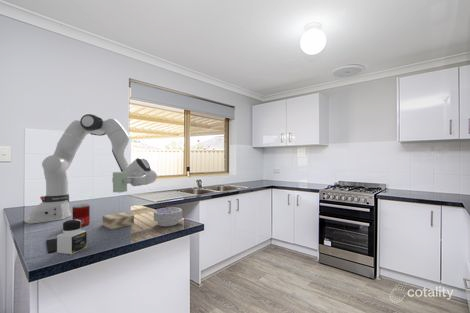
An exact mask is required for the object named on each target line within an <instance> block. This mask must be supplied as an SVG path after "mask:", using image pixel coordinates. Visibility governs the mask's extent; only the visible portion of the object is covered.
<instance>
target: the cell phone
mask: <svg viewBox="0 0 470 313" xmlns="http://www.w3.org/2000/svg"><path fill="white" fill-rule="evenodd" d="M46 247H47V253H48V254H53V253H57V237H55V238H51V239H47V240H46Z"/></svg>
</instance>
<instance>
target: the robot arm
mask: <svg viewBox="0 0 470 313" xmlns="http://www.w3.org/2000/svg"><path fill="white" fill-rule="evenodd" d="M89 134H90V135H93V136H99V137H101V136H105V135H106V136H107V138H108V139H109V141H110V143H111V152H112V155H113V157H114V159H115V161H116V163H117V165H118V167H119V170H120V172H127V179H124V180H122V183H127V184H129V185H131V186H132V187H139V186H145V185H146V186H147V185H149V184H153V183H155V182H156V180H157V178H158V175H157V173H156V172H155V171H154V170H153V169H152V168H151V166H150V163H149V162H148V160H147V159H145V158H142V157H137V158H136V159H134V160H133V161H132V162H131V163H130V164H129V163H128V162H127V159H126V157H125V150H126V148H127V146H128V144H129V141H130V137H129V134H128V132H127V131H126V130H125V128H124V127H123V125H122V124H121V123H120V122H119V121H118V120H117V119H115V118H108V119H105V120H104V119H102V118H101V117H99V116H97V115H94V114H91V113H88V114H84V115H83V116H81V117H80V120H73V121H71V123H70V124H69V125H68V126H67V128H66V129H65V130H64V132H63V134H62V135H61V136H60V139H59V140H58V142H57V143H56V148H55V150H54V152H53V155H51V154H50V155H48V156H46V157H45V158H44V159H43V160H42V162H41V165H42V166H41V167H42V169H43V175H44V180H45V191H46V192H45V195H44V196H43V195H42V196H40V197H39V199H40V200H41V203H39V204H37V205H36V206H35V207H33V208H32V209H31V211H30V213H29V217H27V218H25V219H24V223H25V224H30V225H31V224H37V223H47V222H53V221H62V220H64V219H66V218H67V219H68V218H70V217H71V216H72V213H71V210H70V204H69V203H70V194H69V181H68V177H67V171H68V169H69V168H70V166H71V164H72V162H73V160H74V158H75V156H76V153H77V151H78V149H79V148H80V146H81V145H82V143H83V141H84V139H85V138H86V137H87V135H89ZM111 182H112V183H113V177H112V180H111Z"/></svg>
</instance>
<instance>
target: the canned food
mask: <svg viewBox="0 0 470 313" xmlns="http://www.w3.org/2000/svg"><path fill="white" fill-rule="evenodd" d="M90 207H91V206H90V204H89V203H80V204H79V203H78V204H75V205H72V213H71V216H72V220H75V219H77V220H80V221H81V228H83V227H86V226H88V225H90V223H91V221H90V214H91V212H90Z"/></svg>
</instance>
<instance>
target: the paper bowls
mask: <svg viewBox="0 0 470 313" xmlns="http://www.w3.org/2000/svg"><path fill="white" fill-rule="evenodd" d="M182 219H183V209H182V208H180V207H173V206H171V207H170V206H169V207H162V208H157V209H155V210H154V211H153V221H154V222H156V223H157V224H158V225H159V226H160V227H173V226H176V225H177V224H179V222H180V221H181V220H182Z"/></svg>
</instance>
